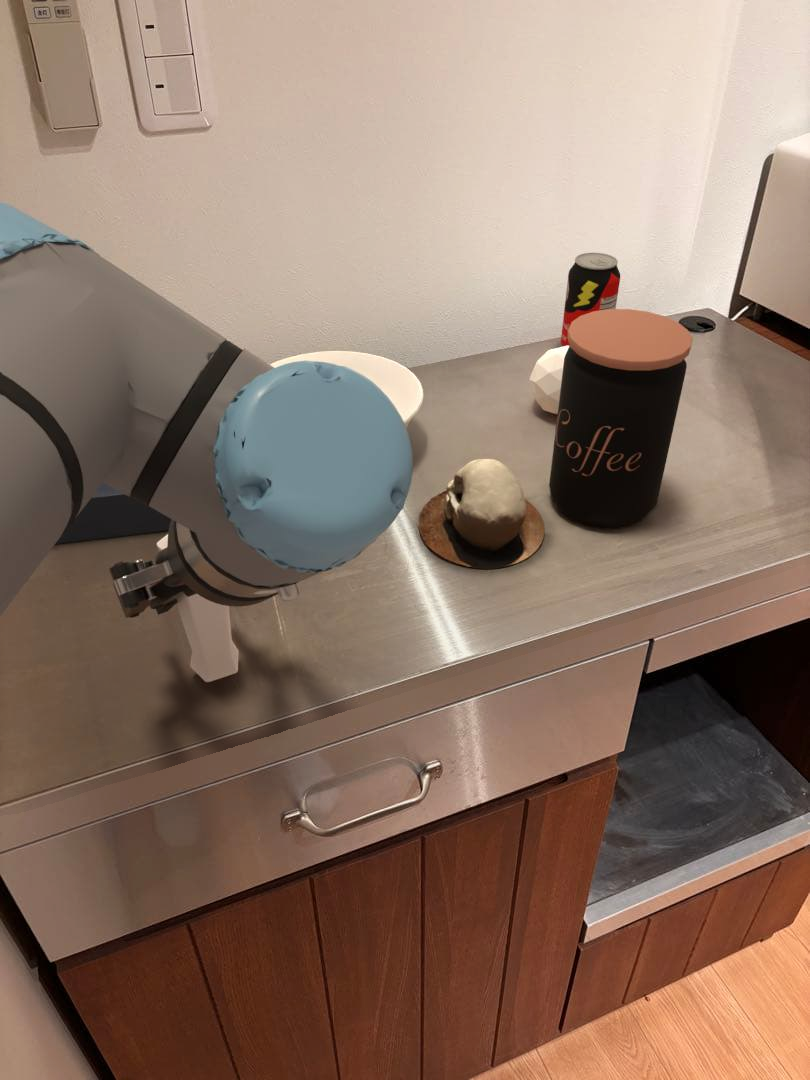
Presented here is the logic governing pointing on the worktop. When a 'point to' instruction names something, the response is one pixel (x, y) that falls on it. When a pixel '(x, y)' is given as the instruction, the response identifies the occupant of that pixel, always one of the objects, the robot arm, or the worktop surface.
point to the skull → (482, 518)
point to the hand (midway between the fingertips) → (189, 584)
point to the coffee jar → (616, 415)
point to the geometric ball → (548, 379)
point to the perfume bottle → (207, 634)
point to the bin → (113, 518)
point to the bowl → (375, 376)
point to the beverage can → (590, 288)
